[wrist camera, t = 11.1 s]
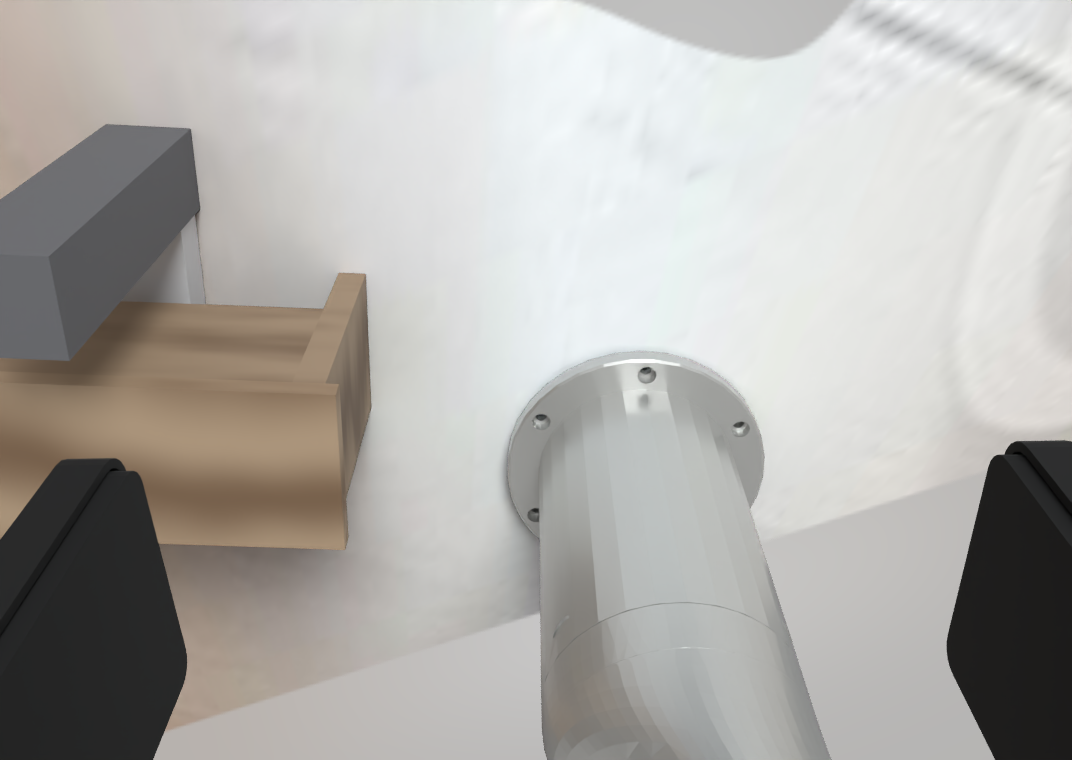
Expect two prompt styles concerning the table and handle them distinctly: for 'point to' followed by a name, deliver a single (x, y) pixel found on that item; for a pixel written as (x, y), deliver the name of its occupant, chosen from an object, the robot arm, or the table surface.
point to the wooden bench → (205, 416)
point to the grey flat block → (98, 238)
